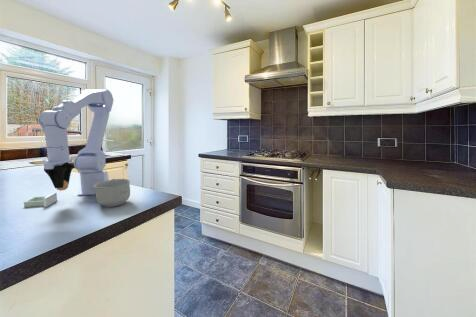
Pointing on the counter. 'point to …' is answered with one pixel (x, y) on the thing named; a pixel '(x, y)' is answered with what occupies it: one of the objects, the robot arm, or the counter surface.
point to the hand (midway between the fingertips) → (62, 186)
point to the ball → (63, 186)
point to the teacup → (112, 192)
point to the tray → (34, 202)
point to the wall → (50, 199)
